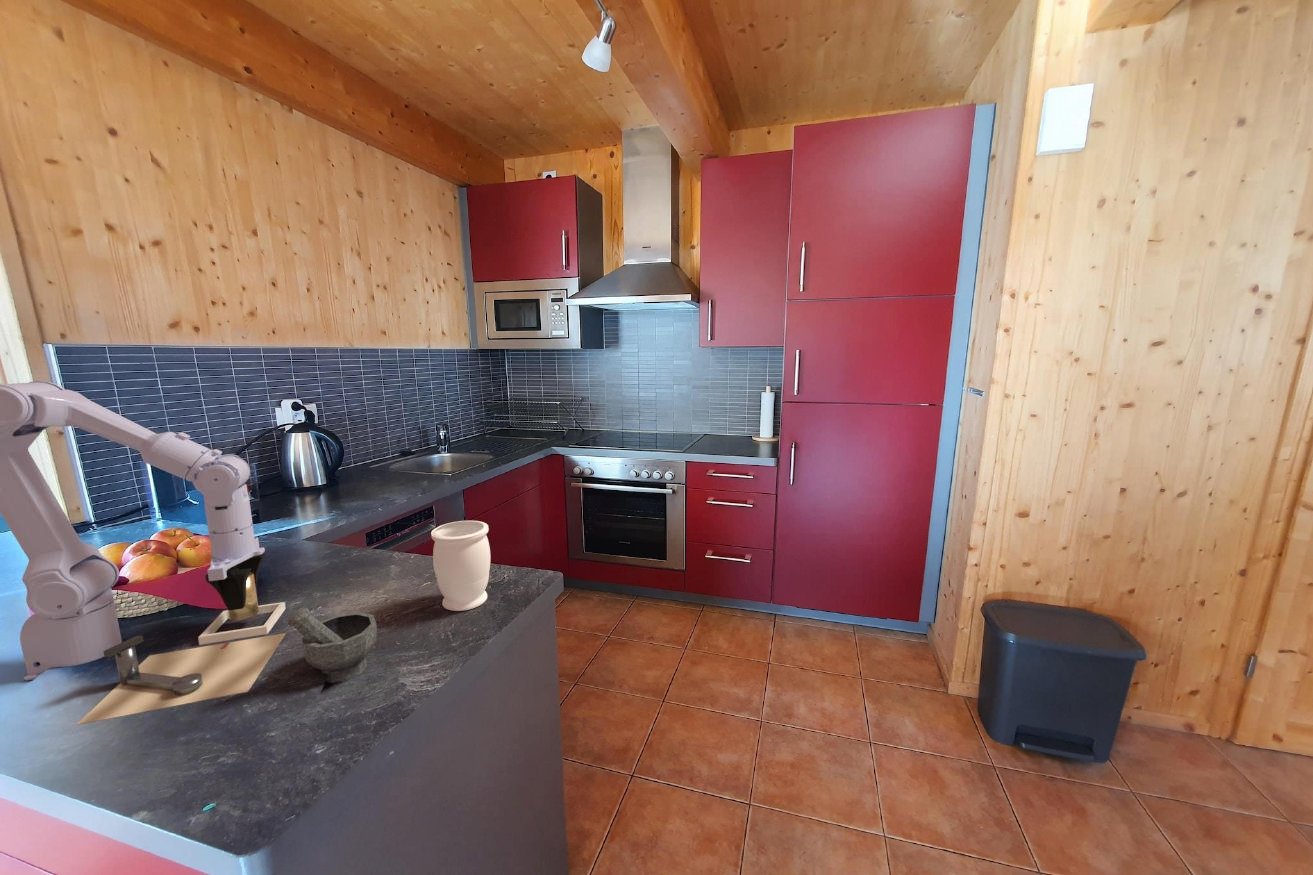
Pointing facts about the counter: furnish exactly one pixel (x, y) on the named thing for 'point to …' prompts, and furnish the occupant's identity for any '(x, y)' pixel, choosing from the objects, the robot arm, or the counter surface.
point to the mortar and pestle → (336, 642)
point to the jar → (462, 563)
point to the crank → (132, 676)
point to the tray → (213, 637)
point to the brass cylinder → (247, 602)
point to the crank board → (218, 665)
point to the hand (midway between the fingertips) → (242, 602)
